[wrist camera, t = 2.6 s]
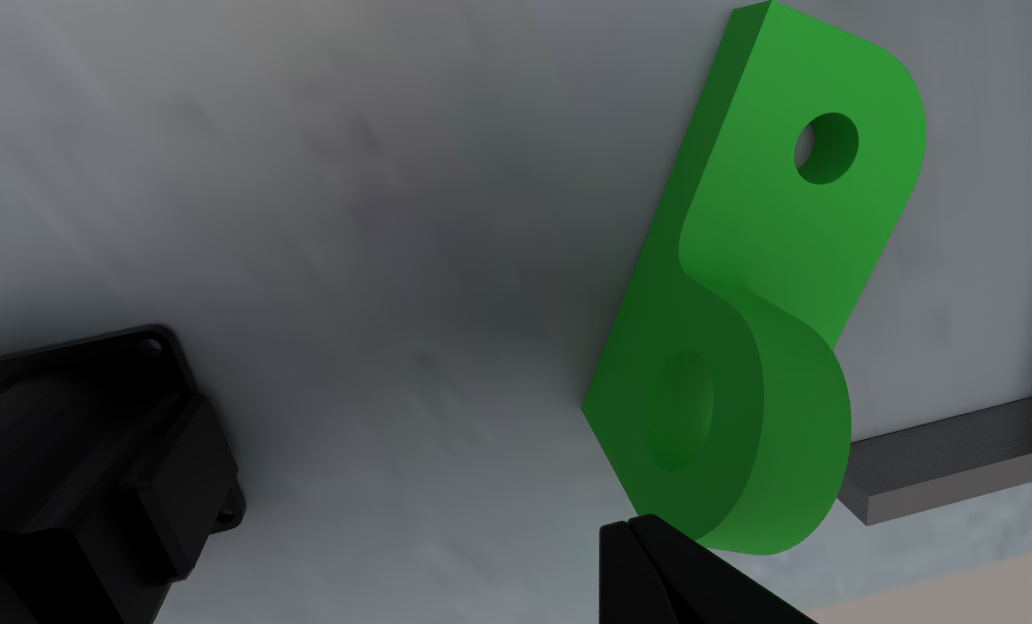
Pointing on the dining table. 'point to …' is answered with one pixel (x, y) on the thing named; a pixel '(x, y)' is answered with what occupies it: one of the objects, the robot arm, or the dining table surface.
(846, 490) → the bracket
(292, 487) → the dining table surface
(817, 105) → the mechanical part
